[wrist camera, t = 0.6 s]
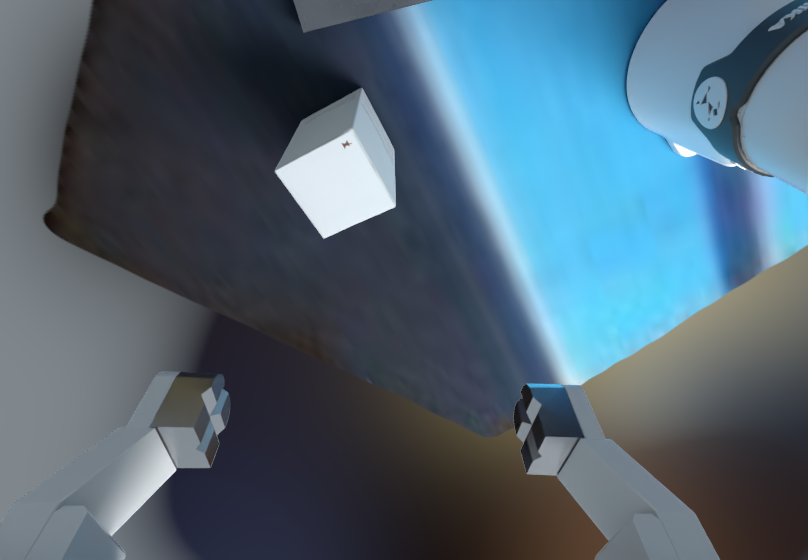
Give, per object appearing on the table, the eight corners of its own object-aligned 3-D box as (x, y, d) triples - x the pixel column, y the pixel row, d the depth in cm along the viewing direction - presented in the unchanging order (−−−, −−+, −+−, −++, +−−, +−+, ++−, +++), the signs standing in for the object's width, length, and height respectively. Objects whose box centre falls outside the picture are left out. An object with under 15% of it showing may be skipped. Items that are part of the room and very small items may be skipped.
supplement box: (299, 119, 42) (270, 168, 32) (363, 85, 40) (353, 125, 30) (336, 181, 46) (321, 241, 36) (396, 152, 44) (398, 207, 34)
